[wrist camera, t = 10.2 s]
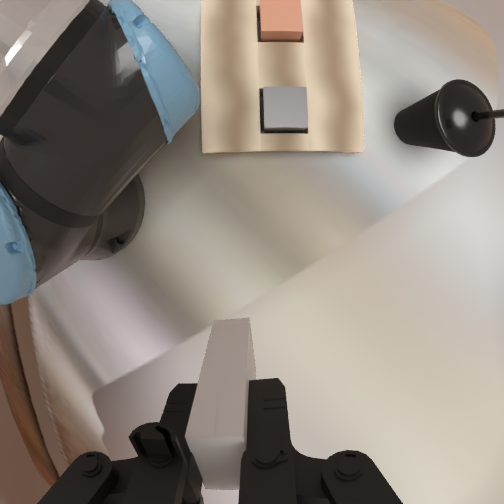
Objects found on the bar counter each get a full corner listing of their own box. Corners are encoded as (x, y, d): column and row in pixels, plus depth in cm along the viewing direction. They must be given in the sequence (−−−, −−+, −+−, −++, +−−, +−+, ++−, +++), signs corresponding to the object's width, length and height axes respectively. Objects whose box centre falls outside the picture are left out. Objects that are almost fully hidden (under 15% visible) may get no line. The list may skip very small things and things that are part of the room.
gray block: (263, 132, 36) (264, 127, 31) (262, 96, 35) (263, 86, 30) (301, 131, 36) (307, 127, 31) (300, 96, 35) (306, 86, 30)
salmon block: (261, 46, 33) (261, 31, 28) (259, 16, 32) (259, -2, 27) (297, 46, 33) (303, 31, 28) (295, 16, 32) (300, -1, 27)
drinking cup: (374, 109, 36) (462, 76, 17) (419, 92, 35) (516, 60, 16) (398, 164, 38) (497, 173, 19) (441, 144, 37) (546, 145, 17)
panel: (207, 153, 38) (202, 153, 34) (206, 10, 33) (201, -3, 29) (354, 153, 38) (364, 152, 34) (344, 11, 32) (352, -2, 28)
